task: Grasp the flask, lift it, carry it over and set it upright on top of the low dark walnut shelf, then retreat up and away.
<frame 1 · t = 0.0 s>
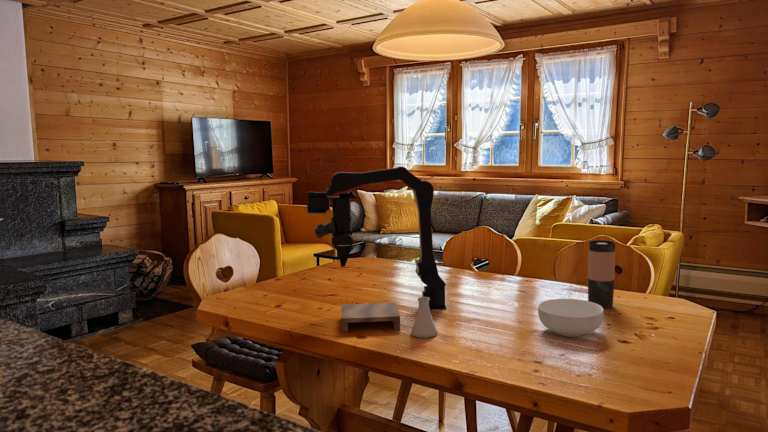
hand: (343, 263, 176), 15 cm above the table, fingers open, 9 cm apart
cereal bowl: (569, 332, 153), on the table
walnut shelf: (370, 323, 164), on the table
travel mug: (600, 306, 177), on the table
flask: (424, 335, 154), on the table
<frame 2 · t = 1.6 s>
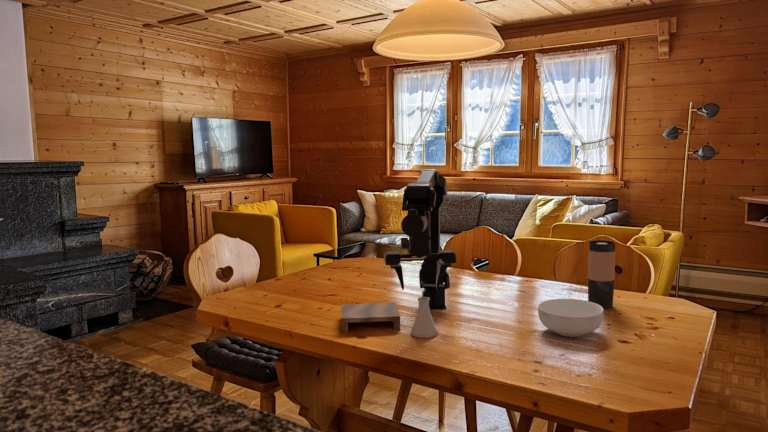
hand: (420, 289, 153), 12 cm above the table, fingers open, 9 cm apart
nothing on the table moved.
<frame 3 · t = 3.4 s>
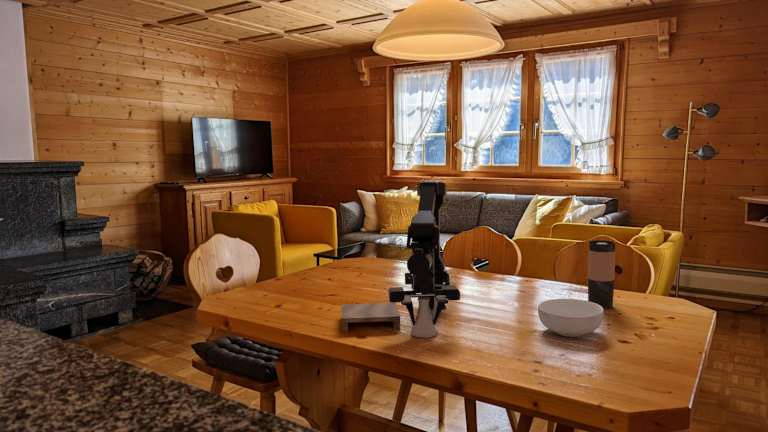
hand: (423, 325, 153), 3 cm above the table, fingers closed on flask, 5 cm apart
flask: (424, 335, 154), on the table, touching gripper
everything else where it was.
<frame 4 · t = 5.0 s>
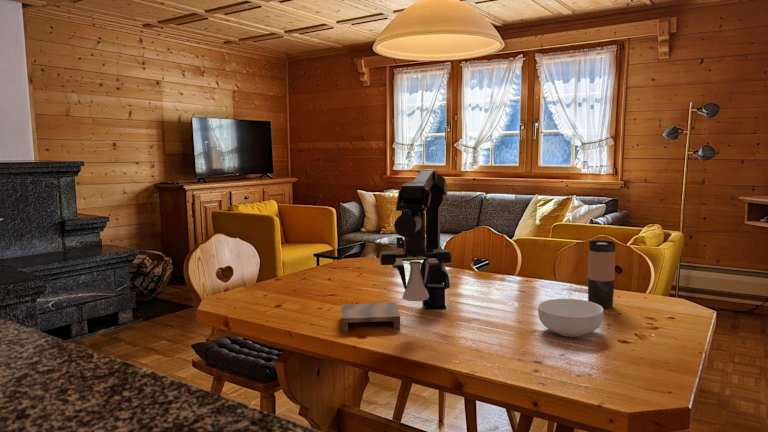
hand: (415, 288, 154), 12 cm above the table, fingers closed on flask, 5 cm apart
flask: (415, 299, 154), point 9 cm above the table, touching gripper
everything else where it was.
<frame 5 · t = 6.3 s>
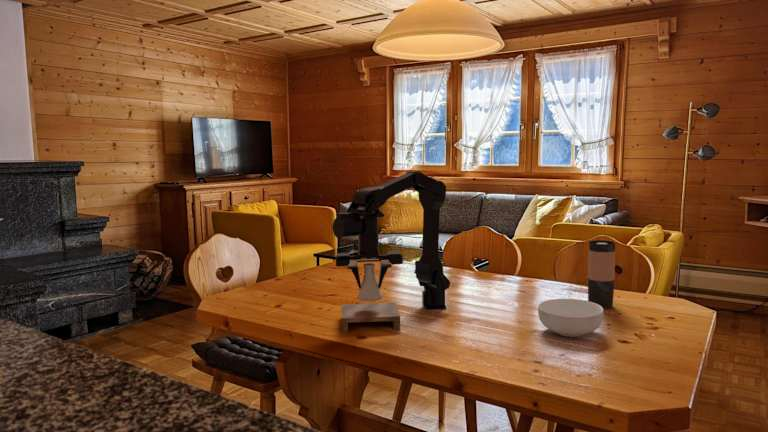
hand: (369, 288, 162), 10 cm above the table, fingers closed on flask, 5 cm apart
flask: (370, 299, 163), point 7 cm above the table, touching gripper
everything else where it was.
when the fingers open (8 cm above the table, at t = 7.1 s): flask stays where it is, resting on walnut shelf.
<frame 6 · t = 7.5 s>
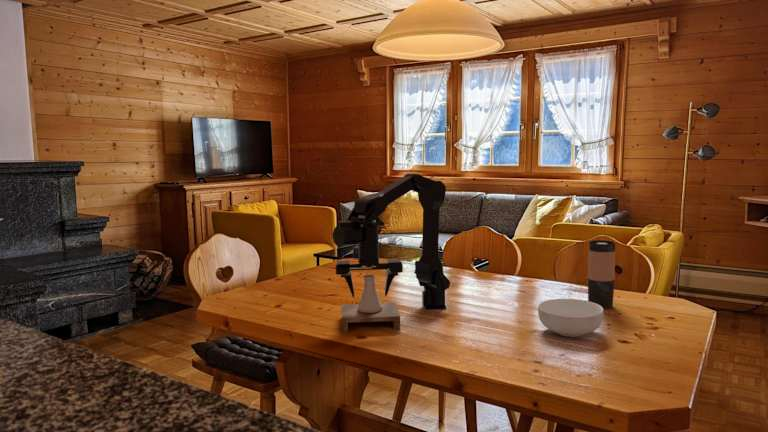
hand: (369, 296, 163), 8 cm above the table, fingers open, 9 cm apart
flask: (370, 310, 163), point 4 cm above the table, touching walnut shelf
everything else where it was.
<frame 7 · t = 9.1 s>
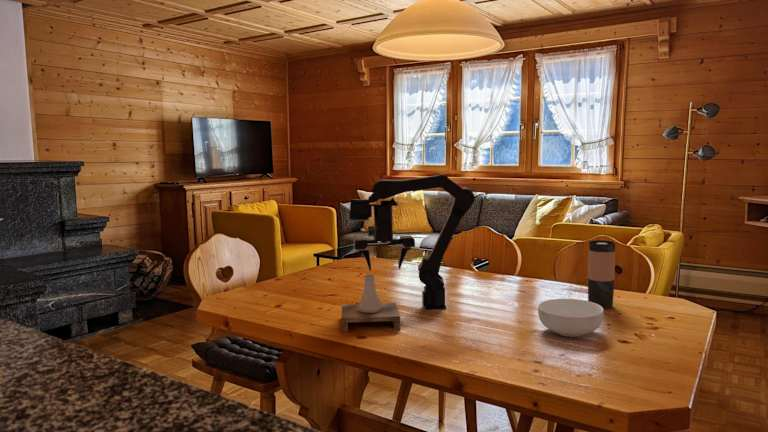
hand: (384, 269, 179), 12 cm above the table, fingers open, 9 cm apart
nothing on the table moved.
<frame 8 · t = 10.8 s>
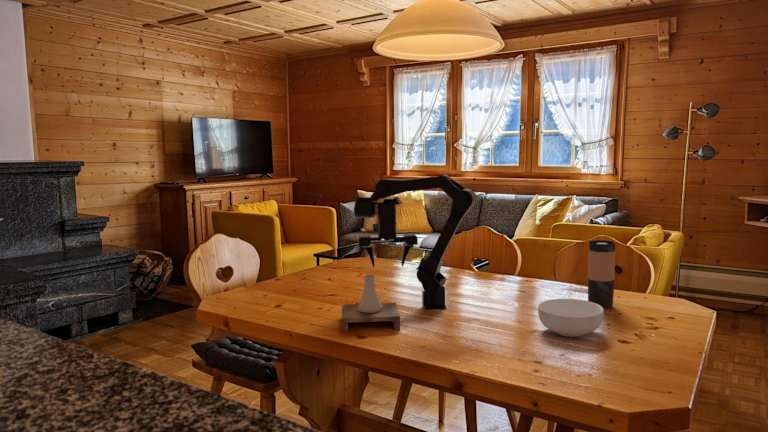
hand: (388, 266, 183), 12 cm above the table, fingers open, 9 cm apart
nothing on the table moved.
at the end: flask inside the target area on the walnut shelf (0.1 cm from its centre), point 3.8 cm above the walnut shelf's base; flask tilted 0°; the gripper is holding nothing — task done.
